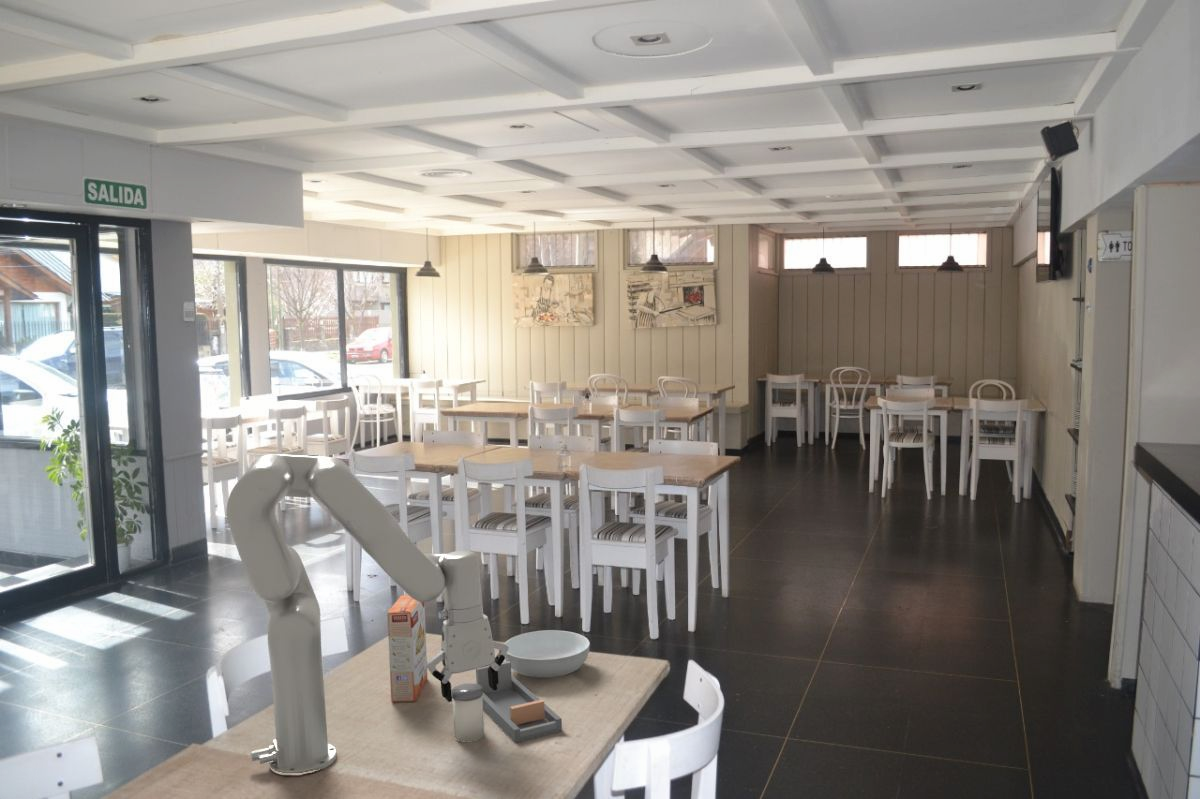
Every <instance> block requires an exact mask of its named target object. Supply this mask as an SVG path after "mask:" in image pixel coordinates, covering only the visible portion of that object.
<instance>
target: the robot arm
mask: <svg viewBox="0 0 1200 799" xmlns="http://www.w3.org/2000/svg"><path fill="white" fill-rule="evenodd" d="M285 497H289V498H291V497H292V498H312V499H313V500H314V501H315V502H316V503H317V504H318V505H319V506H320V507H321V508H322V509H323V510H324V511H325V513H327V514H328V515H329V516H330V517H331V518H332V519H333V520H334V521H335V522H336V523H337V524H338V525H339V526H340V527H342V529H344V530H345V531H346V532H347V534H349V536H351V538H352V539H353V540H355V542H357V543H358V545H359V546H360V547H361V548H362V550H363V551H364V552H365V553H366V554H368V556H370V558H372V560H374V561H375V563H376V564H377V565H378V567H380V568H381V569H382V570H383V572H385V574H386V575H387V576H388V577H390V579H391V580H392V581H393V582H394V583H395V584H397V586H399V587H400V588H401V590H403V591H404V592H405V593H406V595H409V596H410V597H411V598H413V599H415V600H417V601H419V602H424V603H430V602H432V601H436V600H437V599H438V598H439V597H440V596H441V595H442V593H443V597H444V598H443V600H444V606H443V610H441V611H439V612H438V618H439V619H445V620H443V622H442V627H441V628H442V629H441V649H440V650H441V651H440V652H438V653H437V654H436V655H434V656H433V657H432V658H430V659H429V660H427V663H426V666H427V670H428V671H429V672H430V674H431V675H432V676H433V678H436V679H437V680H439V682H440V689H441V697H442V698H444V699H445V700H446V701H447V702H448V703H450V702H453V698H452V683H451V682H450V679H451V677H452V675H453V674H460V673H464V672H465V673H466V672H469V671H472V670H476V669H478V668H482V667H486V666H489V665H490V666H489V667H488V681H489V686H490V687H491V688H492V689H493V690H494V691H495V690H497V684H498V683H499V681H498V670H499V669H500V666H501V664H502V663H503V662H505V661H506V659H505V655H506V654H507V651H508V646H507V645H506V644H504V643H502V642H499V641H495V640H494V639H493V635H492V633H493V632H492V629H491V625H490V622H489V620H490V619H489V618H488V615H486V614H484V610H483V608H484V607H483V596H482V585H481V584H482V583H481V574H480V573H481V571H480V561H479V555H477V553H476V552H474V551H472V550H464V549H463V550H455V551H451V552H448V553H427V552H426V553H424V552H422V551H421V549H419V548H418V547H417V546H416V544H414V542H413V541H412V540H411V539H410V538H409V536H408V535H407V534H406V533H405V532H404V530H403V529H402V528H401V525H400V524H399V523H398V520H397V519H396V518H395V516H394V515H393V513H391V511H390V510H389V509H388V508H387V507H386V506H385V505H384V504H383V503H382V502H381V501H380V500H379V499H378V498H377V497H376V496H375V495H374V494H373V493H371V491H370V490H368V488H367V487H365V485H364V484H363V483H362V482H361V481H360V480H359V479H358V478H357V477H356V476H355V475H354V474H353V473H352V471H351V469H350V467H349V465H348V464H347V463H346V462H345V461H344V460H342V459H340V458H337V457H332V456H316V455H315V456H313V455H298V454H297V455H295V454H280V453H277V454H276V453H272V454H270V453H269V454H264V455H262V456H259V457H257V458H256V459H255V460H254V461H253V462H252V463H251V464H250V465H249V467H248V469H247V470H246V472H245V473H244V474H243V475H242V476H241V477H240V478H239V479H238V481H237V482H236V483H235V485H234V486H233V488H232V489H231V492H230V494H229V496H228V499H227V503H226V521H227V524H228V528H229V530H230V533H231V535H232V538H233V542H234V544H235V547H236V549H237V552H238V555H239V559H240V560H241V563H242V565H243V568H244V571H245V573H246V576H247V579H248V582H249V586H250V588H251V590H252V591H253V593H254V594H255V596H257V597H258V598H259V599H261V600H263V601H264V605H265V607H266V609H267V612H268V614H269V621H268V627H267V646H268V647H267V648H268V654H269V655H268V656H269V662H270V663H269V665H270V673H271V674H270V675H271V689H272V698H273V699H272V700H273V713H274V714H273V715H274V727H275V738H274V739H273V740H272V745H271V744H270V745H268V746H267V747H266V748H262V749H261V748H260V749H256V750H252V751H250V756H251V761H252V762H256V761H259V764H260V765H261V764H265V763H268V766H269V765H270V767H271V768H272V769H274V770H275V771H278V772H282V773H303V772H308V771H313V770H319V769H322V770H325V769H326V768H328V767H329V766H330V765H332V764H333V763H334V762H335V761H336V759H337V757H336V756H337V754H338V753H337V748H336V747H335V746H334V745H333V744H331V743H329V742H328V728H327V709H326V696H325V694H326V693H325V681H324V666H323V654H322V653H323V652H322V630H321V629H322V628H321V625H322V624H321V620H322V619H321V608H320V604H319V601H318V598H317V596H316V593H315V591H314V589H313V586H312V583H311V580H310V579H309V576H308V573H307V571H306V568H305V566H304V563H303V561H302V559H301V557H300V554H299V553H298V551H297V550H296V549H295V548H293V546H291V545H289V544H287V542H286V539H285V537H284V534H283V531H282V528H281V526H280V524H279V522H278V520H277V517H276V507H277V505H278V504H279V503H280V502H281V501H282V500H283V499H284V498H285ZM495 649H496V650H498V653H497V655H496V654H495ZM441 662H442V663H441ZM440 663H441V664H442V666H443V667H442V669H441V671H439V670H438V669H437V668H436V666H437V665H438V664H440ZM334 760H335V761H334ZM333 761H334V762H333Z"/></svg>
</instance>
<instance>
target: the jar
mask: <svg viewBox="0 0 1200 799" xmlns="http://www.w3.org/2000/svg"><path fill="white" fill-rule="evenodd" d="M451 692H452V708H453V709H452V711H453V729H454V731H453V732H454V739H455V738H456V739H457V740H456V739H455V740H456V741H458V740H459V741H458V742H460V741H465V742H464V743H468V742H467V741H473V742H476V740H477V741H479V740H481V739H483V737H484V736H485V723H484V722H485V721H484V720H485V719H484V710H483V699H482V695H483V690H482V686H481V685H479V684H477V683H471V682H470V683H462V684H459V685H456V686H455V687H452V688H451Z"/></svg>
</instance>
